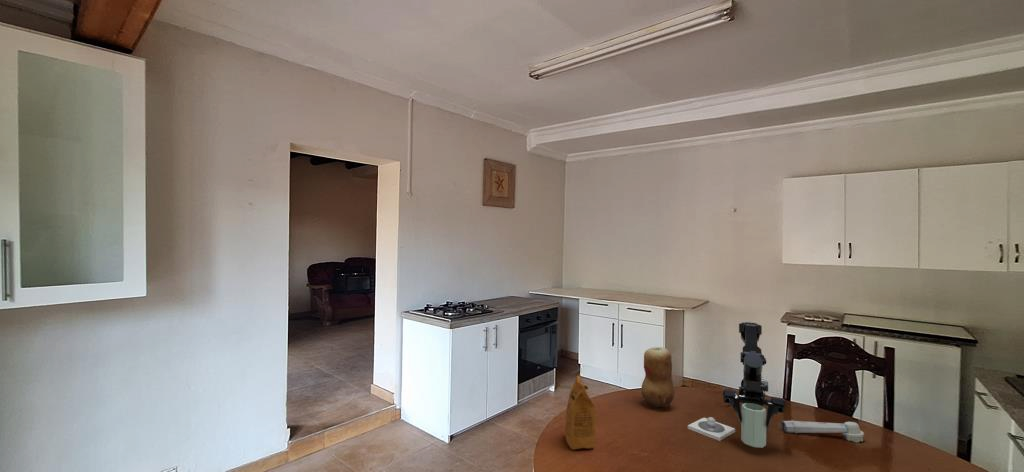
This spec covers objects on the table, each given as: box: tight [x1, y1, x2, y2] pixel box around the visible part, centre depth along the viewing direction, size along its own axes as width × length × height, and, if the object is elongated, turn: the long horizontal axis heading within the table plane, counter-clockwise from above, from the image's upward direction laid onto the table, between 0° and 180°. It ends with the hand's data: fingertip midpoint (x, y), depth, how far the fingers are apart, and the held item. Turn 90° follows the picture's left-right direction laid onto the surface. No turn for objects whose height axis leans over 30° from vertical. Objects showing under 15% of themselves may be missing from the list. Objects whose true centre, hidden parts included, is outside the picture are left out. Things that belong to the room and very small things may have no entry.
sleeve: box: [740, 403, 767, 449], centre depth 140 cm, size 7×7×12 cm
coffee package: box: [564, 375, 597, 450], centre depth 144 cm, size 10×12×22 cm
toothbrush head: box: [780, 419, 865, 443], centre depth 151 cm, size 5×7×25 cm
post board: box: [687, 416, 736, 442], centre depth 155 cm, size 12×12×5 cm
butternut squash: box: [640, 346, 676, 408], centre depth 177 cm, size 14×13×25 cm
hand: (753, 424), depth 139 cm, fingers closed on sleeve, 7 cm apart
